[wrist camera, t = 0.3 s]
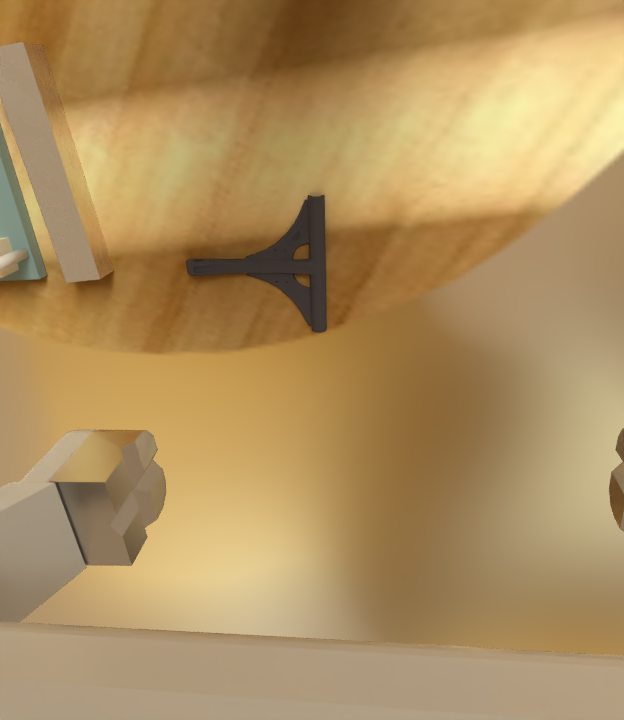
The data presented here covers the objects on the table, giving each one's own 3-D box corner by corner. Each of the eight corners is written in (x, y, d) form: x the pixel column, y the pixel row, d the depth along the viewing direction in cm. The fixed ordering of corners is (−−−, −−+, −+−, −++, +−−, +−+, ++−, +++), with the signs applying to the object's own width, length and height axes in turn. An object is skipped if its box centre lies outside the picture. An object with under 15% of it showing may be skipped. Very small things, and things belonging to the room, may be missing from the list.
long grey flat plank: (8, 52, 52) (-17, 50, 49) (45, 45, 51) (23, 41, 48) (83, 273, 61) (66, 282, 58) (115, 269, 60) (100, 279, 57)
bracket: (182, 194, 56) (173, 199, 53) (325, 193, 54) (322, 199, 52) (199, 323, 62) (192, 332, 60) (327, 326, 60) (324, 336, 58)
